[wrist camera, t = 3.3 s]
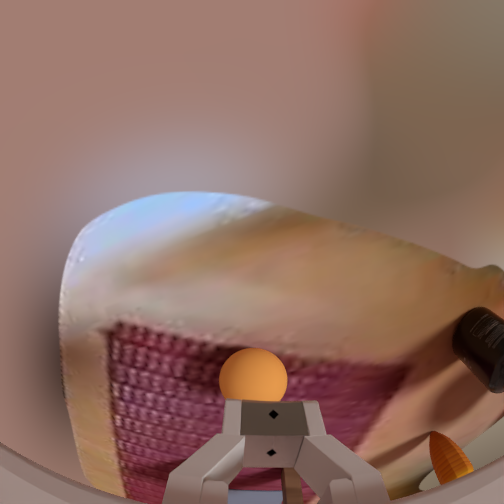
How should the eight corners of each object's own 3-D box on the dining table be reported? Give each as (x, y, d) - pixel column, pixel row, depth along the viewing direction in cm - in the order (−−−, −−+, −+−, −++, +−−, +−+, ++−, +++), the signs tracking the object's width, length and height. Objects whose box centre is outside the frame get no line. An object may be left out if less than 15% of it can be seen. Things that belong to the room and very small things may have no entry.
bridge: (294, 474, 33) (300, 528, 23) (189, 469, 32) (179, 522, 23) (298, 464, 32) (305, 520, 22) (188, 458, 32) (176, 514, 22)
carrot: (414, 435, 31) (450, 510, 17) (441, 416, 30) (485, 486, 16) (422, 446, 32) (455, 513, 17) (448, 427, 31) (487, 492, 17)
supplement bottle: (443, 359, 28) (496, 420, 16) (459, 308, 26) (526, 362, 14) (480, 350, 28) (532, 400, 16) (495, 302, 26) (558, 346, 14)
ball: (280, 385, 28) (285, 426, 22) (221, 382, 28) (215, 423, 22) (287, 337, 26) (295, 376, 21) (223, 333, 26) (215, 372, 21)
